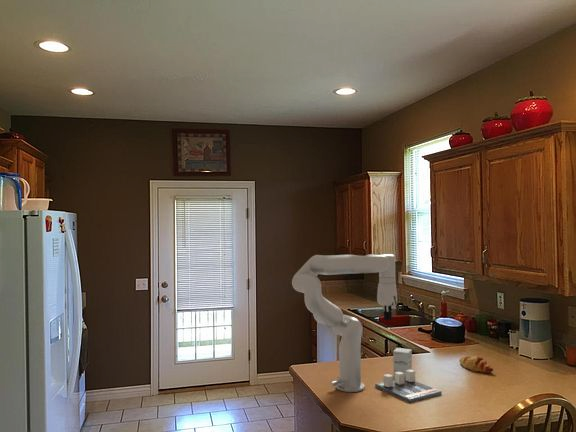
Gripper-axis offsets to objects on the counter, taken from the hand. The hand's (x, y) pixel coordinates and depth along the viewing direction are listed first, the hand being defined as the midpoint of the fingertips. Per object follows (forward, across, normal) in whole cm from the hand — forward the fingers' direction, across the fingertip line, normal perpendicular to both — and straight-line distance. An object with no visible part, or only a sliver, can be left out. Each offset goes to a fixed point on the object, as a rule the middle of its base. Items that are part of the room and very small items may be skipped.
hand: (387, 319), depth 222 cm
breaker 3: (+26, +10, +5) cm, 28 cm away
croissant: (+28, +6, +50) cm, 57 cm away
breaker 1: (+26, +10, -8) cm, 30 cm away
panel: (+28, +15, -2) cm, 32 cm away
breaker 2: (+26, +10, -2) cm, 28 cm away
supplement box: (+28, -2, +10) cm, 30 cm away
